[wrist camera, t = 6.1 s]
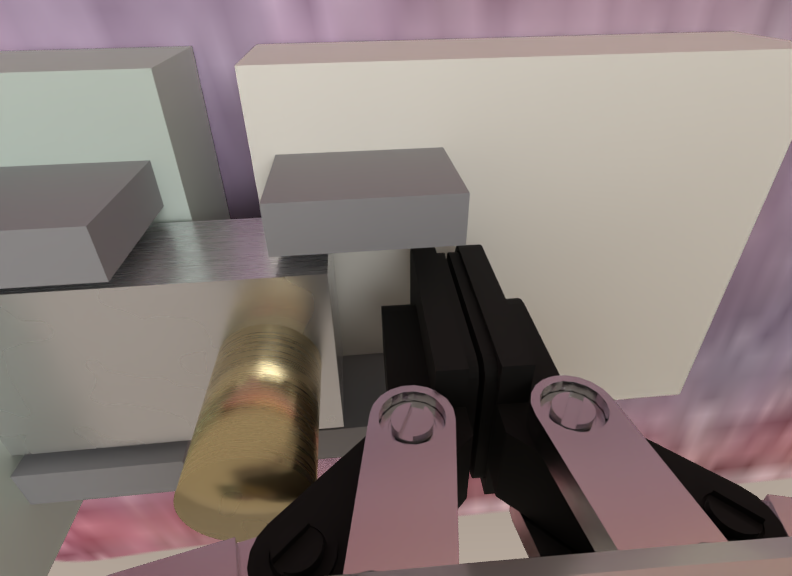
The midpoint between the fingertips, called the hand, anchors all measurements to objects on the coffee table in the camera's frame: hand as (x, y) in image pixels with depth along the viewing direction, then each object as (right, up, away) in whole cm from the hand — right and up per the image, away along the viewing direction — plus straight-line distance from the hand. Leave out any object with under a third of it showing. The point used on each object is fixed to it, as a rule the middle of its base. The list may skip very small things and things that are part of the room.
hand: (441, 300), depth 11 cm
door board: (+2, +2, +3) cm, 4 cm away
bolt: (-6, 0, 0) cm, 6 cm away
